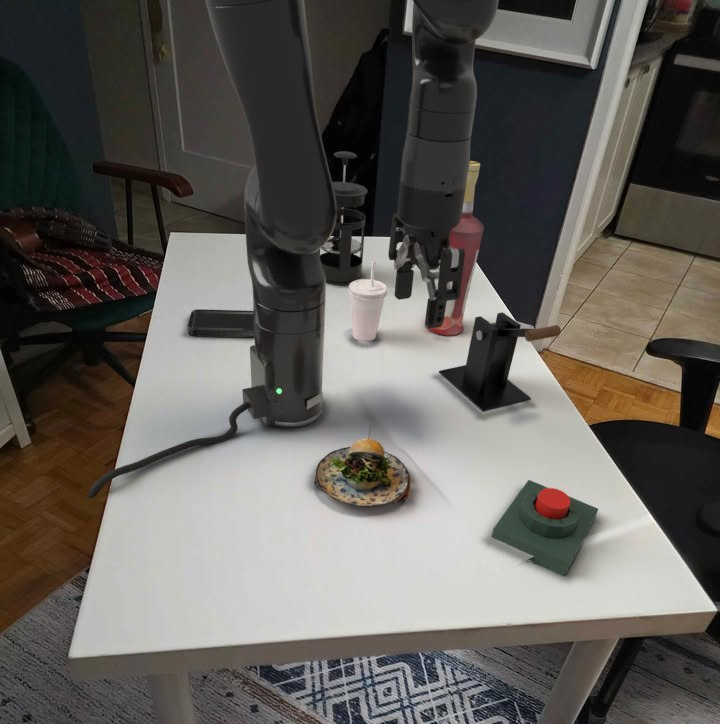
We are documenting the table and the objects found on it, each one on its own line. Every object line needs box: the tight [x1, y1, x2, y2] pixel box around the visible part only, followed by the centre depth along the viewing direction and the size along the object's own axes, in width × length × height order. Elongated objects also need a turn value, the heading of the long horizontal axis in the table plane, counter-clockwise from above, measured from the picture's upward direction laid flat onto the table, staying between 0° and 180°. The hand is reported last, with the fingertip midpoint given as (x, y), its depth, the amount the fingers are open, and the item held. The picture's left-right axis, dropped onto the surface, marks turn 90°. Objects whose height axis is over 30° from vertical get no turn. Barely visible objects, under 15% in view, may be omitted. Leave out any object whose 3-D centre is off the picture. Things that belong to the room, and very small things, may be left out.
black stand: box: [438, 312, 532, 413], centre depth 97 cm, size 12×9×12 cm
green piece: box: [491, 479, 599, 577], centre depth 76 cm, size 11×9×4 cm
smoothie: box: [347, 259, 388, 342], centre depth 106 cm, size 6×6×14 cm
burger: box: [313, 425, 412, 507], centre depth 79 cm, size 12×12×8 cm
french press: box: [319, 151, 368, 286], centre depth 124 cm, size 12×9×23 cm
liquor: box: [425, 160, 485, 337], centre depth 107 cm, size 7×7×28 cm
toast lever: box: [491, 322, 562, 343], centre depth 90 cm, size 12×5×2 cm, turn 27°
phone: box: [187, 308, 254, 338], centre depth 111 cm, size 8×1×15 cm
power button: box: [535, 487, 570, 520], centre depth 74 cm, size 4×4×2 cm
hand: (417, 311), depth 83 cm, fingers open, 8 cm apart
